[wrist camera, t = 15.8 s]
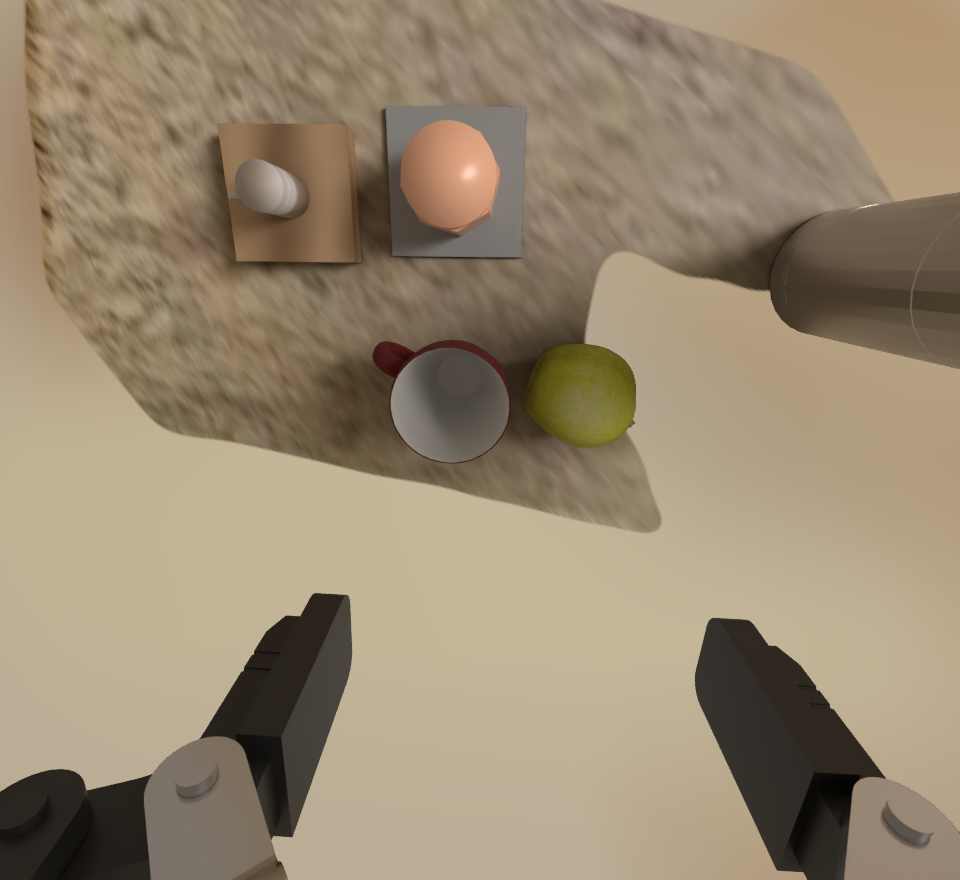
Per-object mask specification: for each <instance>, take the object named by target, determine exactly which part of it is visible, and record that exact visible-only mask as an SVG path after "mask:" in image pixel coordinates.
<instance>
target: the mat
mask: <svg viewBox="0 0 960 880" xmlns="http://www.w3.org/2000/svg"><path fill="white" fill-rule="evenodd" d="M526 108H527V107H459V106H386V127H387V149H388V172H389V194H390V216H391V239H392V256H431V257H519V258H521V247H522V220H523V192H524V164H525V136H526ZM440 120H453V121H458V122H462V123H464V124H467V125H469V126H470V127H472V128H474V129H475V130H478V131H480V132H481V133H482V135H483V137H484V139H485V140H486V142H487V143H488V145H489V147H490V148H491V151H492V153H493V156H494V159H495V161H496V163H497V165H498V167H499V169H500V177H499V186H498V190H497V194H496V197H495V201H494V205H493V209H492V213H491V217H490V219H489V220H487V221H485V222H484V223H482V224H481V225H479V226H477V227H476V228H474V229H473V230H471V231H469V232H468V233H466V234H465V235H463V236H462V235H461V236H459V235H456V234H452V233H449V232H445V231H442V230H438V229H435V228H432V227H429V226H428V225H426V224H424V223H422V222H421V221H420V220H419V218H418V217H417V215H416V213H415V211H414V210H413V209H412V207H411V206H410V204H409V203H408V201H407V199H406V197H405V194H404V192H403V190H402V188H401V187H400V181H401V163H402V158H403V155H404V152H405V149H406V147H407V145H408V143H409V141H411V139H412V138H413V137H414V135H415V134H416V133H417V132H418V131H420V130H421V129H422V128H424V127H425V126H427V125H429V124H431V123H434V122H437V121H440Z"/></svg>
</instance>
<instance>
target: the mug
mask: <svg viewBox="0 0 960 880" xmlns="http://www.w3.org/2000/svg"><path fill="white" fill-rule="evenodd" d="M373 360H374V363H375V364H376V366H377V367H378V368H379V369H381V370H382V371H383V372H384V373H386V374H388V375H389V376H391V377H393V378H395V380H394V383H393V386H392V389H391V394H390V413H391V418H392V421H393V424H394V427H395V429H396V431H397V432H398V434H399V436H400V437H401V439H402V440H403V441H404V442H405V443H406V444H407V445H408V446H409V447H410V448H411V449H412V450H413V451H415V452H416V453H418V454H419V455H421V456H423V457H425V458H427V459H430V460H433V461H436V462H441V463H462V462H467V461H470V460H473V459H476V458H478V457H480V456H482V455H484V454H485V453H487V452H488V451H489V450H490V449H492V448H493V447H494V446H495V445H496V444H497V442H498V441H499V440H500V439H501V437H502V435H503V434H504V432H505V430H506V427H507V425H508V421H509V418H510V410H511V399H510V390H509V385H508V382H507V379H506V376H505V374H504V372H503V370H502V368H501V367H500V365H499V364H498V363H497V361H496V360H495V359H494V358H493V357H492V356H491V355H490V354H489V353H488V352H486V351H485V350H484V349H482V348H480V347H478V346H476V345H474V344H471V343H469V342H464V341H458V340H445V341H440V342H436V343H433V344H430V345H428V346H426V347H424V348H422V349H421V350H419V351H418V352H416V353H414V352H413V351H411V350H409V349H407V348H406V347H404V346H401V345H399V344H396V343H393V342H388V341H385V342H381V343H379V344H378V345H377V346H376V348H375V349H374V352H373Z"/></svg>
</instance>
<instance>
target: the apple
mask: <svg viewBox="0 0 960 880" xmlns="http://www.w3.org/2000/svg"><path fill="white" fill-rule="evenodd" d="M524 405H525V408H526V410H527V412H528V413H529V415H530V416H531V417H532V419H533V420H534V421H535V422H536V423H537V424H538V425H539V426H541V427H542V428H543V429H544V430H545V431H547V432H548V433H549V434H551V435H552V436H554V437H555V438H557V439H558V440H560V441H562V442H564V443H566V444H569V445H571V446H575V447H580V448H595V447H600V446H603V445H606V444H608V443H611V442H613V441H615V440H616V439H618V438H619V437H620V436H621V435H622V434H623V433H624V432H625V431H626V430H627V429H628V427H631V426H632V425H633V424H635V422H634V421H633V420H632V419H633V416H634V413H635V407H636V406H635V405H636V384H635V379H634V375H633V372H632V370H631V368H630V366H629V365H628V364H627V362H626V361H625V360H624V359H623V358H621V357H620V356H619V355H617V354H616V353H614V352H613V351H611V350H609V349H606V348H603V347H600V346H596V345H589V344H564V345H558V346H554V347H551V348H549V349H547V350H545V351H544V352H542V354H541V355H540V356H539V358H538V360H537V364H536V365H535V367H534V369H533V371H532V373H531V376H530V379H529V382H528V384H527V387H526V390H525V394H524Z"/></svg>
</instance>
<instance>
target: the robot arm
mask: <svg viewBox="0 0 960 880" xmlns="http://www.w3.org/2000/svg"><path fill="white" fill-rule="evenodd" d="M770 294H771V300H772V303H773V305H774V309H775V311H776V312H777V313H778V315H779V317H780V318H781V320H783V321H784V322H785V323H786V324H787V325H788V326H789V327H791V328H793V329H795V330H797V331H799V332H802V333H806V334H811V335H815V336H819V337H823V338H827V339H832V340H835V341H839V342H843V343H848V344H852V345H857V346H861V347H866V348H870V349H874V350H878V351H883V352H887V353H891V354H896V355H900V356H904V357H909V358H913V359H917V360H922V361H927V362H930V363H935V364H939V365H944V366H948V367H953V368H957V369H960V192H958V193H952V194H944V195H938V196H931V197H924V198H918V199H911V200H905V201H897V202H891V203H884V204H876V205H869V206H863V207H856V208H849V209H843V210H837V211H832V212H827V213H824V214H822V215H820V216H817V217H815V218H813V219H811V220H810V221H808V222H807V223H805V224H804V225H802V226H801V227H800V228H798V229H797V230H796V231H795V232H794V233H793V234H792V235H791V236H790V237H789V238H788V240H787V241H786V242H785V244H784V245H783V246H782V248H781V250H780V252H779V253H778V255H777V257H776V259H775V262H774V265H773V268H772V272H771V278H770ZM351 660H352V636H351V613H350V599H349V596H348V595H338V594H321V593H314V594H313V595H312V596H311V598H310V599H309V601H308V603H307V605H306V607H305V609H304V611H303V612H302V614H301V616H285V617H284V618H282V619H281V620H280V621H279V622H278V623H276V624H275V625H274V626H273V627H271V628H270V629H269V630H268V631H267V632H266V633H265V635H264V636H263V638H262V639H261V641H260V643H259V644H258V646H257V648H256V649H255V651H254V655H252V656H251V657H250V659H249V660H248V662H247V664H246V665H245V667H244V671H243V672H241V673H240V675H239V677H238V678H237V680H236V681H235V683H234V685H233V686H232V688H231V690H230V691H229V693H228V695H227V696H226V698H225V699H224V701H223V703H222V704H221V706H220V707H219V709H218V711H217V712H216V714H215V715H214V717H213V719H212V720H211V722H210V724H209V725H208V727H207V728H206V730H205V732H204V733H203V735H202V736H201V738H200V739H199V740H196V741H193V742H191V743H189V744H187V745H185V746H183V747H181V748H179V749H178V750H176V751H175V752H173V753H172V754H171V755H170V756H168V757H167V758H166V759H165V760H164V761H163V762H162V763H161V764H160V765H159V766H158V767H157V769H156V770H155V771H154V773H153V774H151V775H148V776H145V777H142V778H138V779H135V780H130V781H126V782H122V783H118V784H113V785H109V786H105V787H100V788H96V789H92V790H88V791H87V790H86V787H85V784H84V781H83V779H82V777H81V776H80V775H79V774H77V773H76V772H73V771H70V770H64V769H57V770H49V771H44V772H40V773H37V774H34V775H31V776H29V777H27V778H24V779H22V780H20V781H18V782H16V783H14V784H12V785H11V786H9V787H7V788H6V789H4V790H2V791H1V792H0V880H288V878H287V875H286V872H285V870H284V867H283V865H282V863H281V862H278V860H277V858H276V855H275V852H274V849H273V845H272V842H271V840H272V837H273V836H283V837H293V834H294V831H295V828H296V825H297V823H298V820H299V817H300V814H301V811H302V808H303V805H304V802H305V800H306V797H307V794H308V791H309V788H310V786H311V783H312V780H313V777H314V774H315V771H316V768H317V766H318V763H319V760H320V757H321V754H322V751H323V748H324V746H325V743H326V740H327V737H328V734H329V732H330V728H331V726H332V723H333V720H334V717H335V714H336V711H337V709H338V706H339V703H340V700H341V697H342V694H343V692H344V689H345V686H346V683H347V680H348V677H349V672H350V667H351ZM695 687H696V694H697V697H698V701H699V703H700V706H701V708H702V710H703V712H704V714H705V716H706V719H707V721H708V723H709V725H710V727H711V729H712V732H713V734H714V736H715V738H716V740H717V742H718V744H719V747H720V749H721V751H722V753H723V755H724V757H725V760H726V762H727V764H728V766H729V768H730V770H731V773H732V775H733V777H734V779H735V781H736V783H737V785H738V788H739V790H740V792H741V794H742V796H743V798H744V801H745V802H746V805H747V807H748V809H749V811H750V813H751V815H752V818H753V820H754V822H755V824H756V826H757V828H758V831H759V833H760V835H761V837H762V839H763V841H764V843H765V846H766V848H767V850H768V852H769V854H770V856H771V859H772V861H773V863H774V865H775V867H776V869H777V870H778V871H794V872H804V874H805V876H806V878H807V880H960V832H959V831H958V830H957V828H956V827H955V826H954V825H953V823H952V822H951V821H950V820H949V819H948V818H947V817H946V816H945V814H943V813H942V812H941V811H940V810H939V809H938V808H937V807H936V806H935V805H933V804H932V803H931V802H930V801H928V800H927V799H926V798H924V797H922V796H921V795H920V794H918V793H917V792H915V791H913V790H911V789H910V788H908V787H906V786H904V785H901V784H899V783H897V782H894V781H891V780H888V779H886V778H885V776H884V775H883V774H882V773H881V771H880V770H879V769H878V767H877V766H876V765H875V763H874V762H873V761H872V759H871V758H870V757H869V755H868V754H867V753H866V751H865V750H864V749H863V747H862V746H861V745H860V744H859V742H858V741H857V740H856V738H855V737H854V736H853V734H852V733H851V732H850V730H849V729H848V728H847V727H846V725H845V724H844V722H843V721H842V720H841V719H840V717H839V716H838V715H837V713H836V712H835V711H834V709H831V708H830V704H829V703H828V701H827V700H826V699H825V697H824V696H823V695H822V693H821V692H820V691H817V690H816V686H815V684H814V683H813V682H812V680H811V679H810V678H809V676H808V675H807V674H806V672H805V671H804V670H803V668H802V667H801V666H800V665H799V664H798V663H797V662H796V661H794V660H793V659H792V658H791V657H789V656H788V655H787V654H786V653H784V652H783V651H782V650H781V649H779V648H778V647H777V646H769V645H768V644H767V643H766V641H765V640H764V639H763V637H762V636H761V634H760V633H759V632H758V630H757V629H756V627H755V626H754V625H753V624H752V622H750V621H748V620H741V619H724V618H712V619H710V620H709V622H708V624H707V627H706V632H705V636H704V640H703V644H702V648H701V652H700V656H699V660H698V664H697V668H696V673H695Z"/></svg>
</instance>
